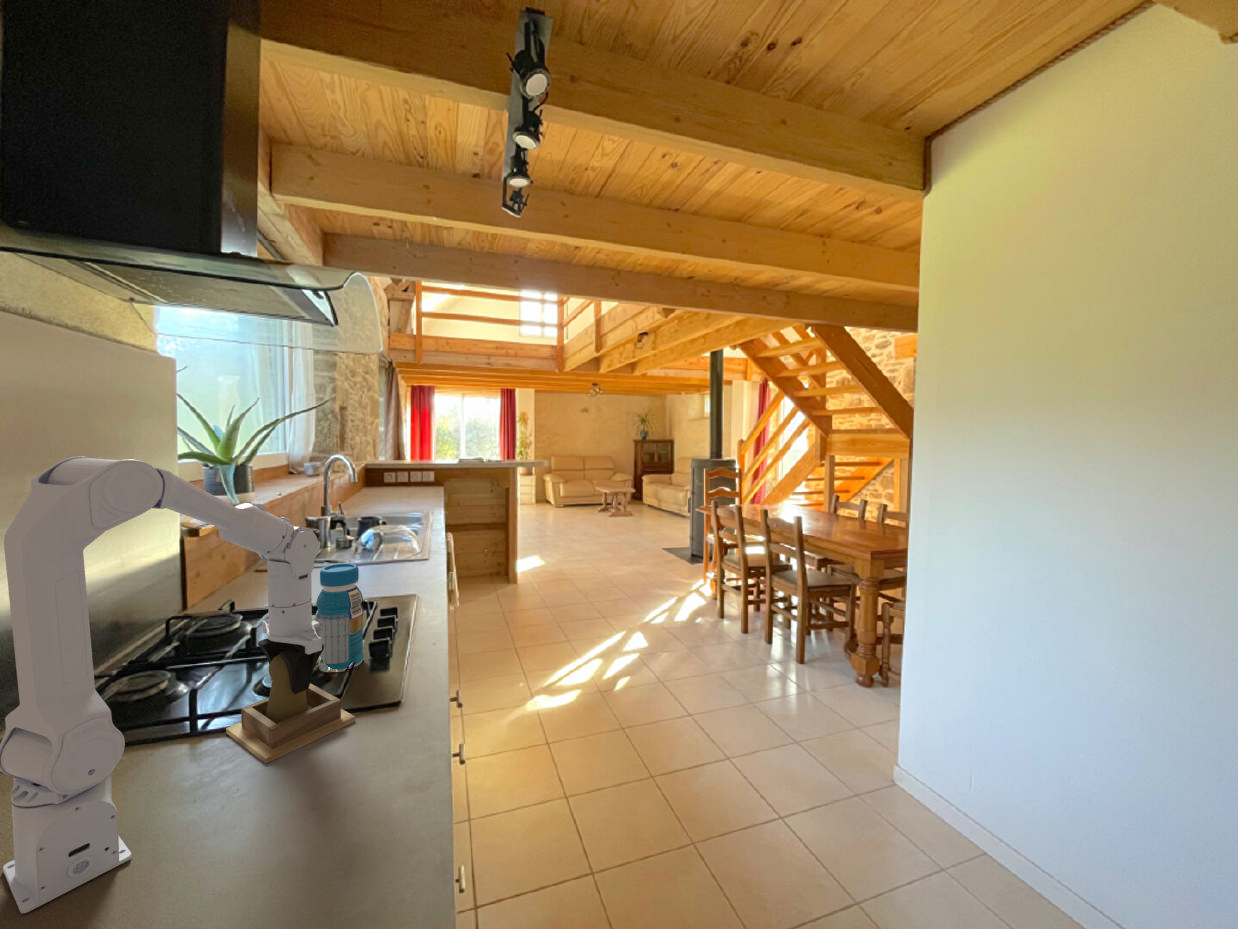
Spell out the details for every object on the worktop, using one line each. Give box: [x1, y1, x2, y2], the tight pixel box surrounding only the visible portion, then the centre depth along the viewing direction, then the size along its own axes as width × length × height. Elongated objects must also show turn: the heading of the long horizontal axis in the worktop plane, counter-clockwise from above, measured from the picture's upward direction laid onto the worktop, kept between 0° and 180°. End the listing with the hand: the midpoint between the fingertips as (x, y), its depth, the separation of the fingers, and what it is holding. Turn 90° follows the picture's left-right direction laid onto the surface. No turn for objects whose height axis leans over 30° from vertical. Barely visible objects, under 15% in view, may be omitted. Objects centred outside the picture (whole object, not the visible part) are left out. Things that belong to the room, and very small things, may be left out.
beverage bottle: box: [315, 562, 365, 673], centre depth 102 cm, size 8×8×20 cm
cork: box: [266, 655, 308, 724], centre depth 80 cm, size 6×6×11 cm
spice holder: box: [225, 682, 356, 764], centre depth 81 cm, size 13×13×4 cm
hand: (291, 685), depth 80 cm, fingers closed on cork, 5 cm apart
